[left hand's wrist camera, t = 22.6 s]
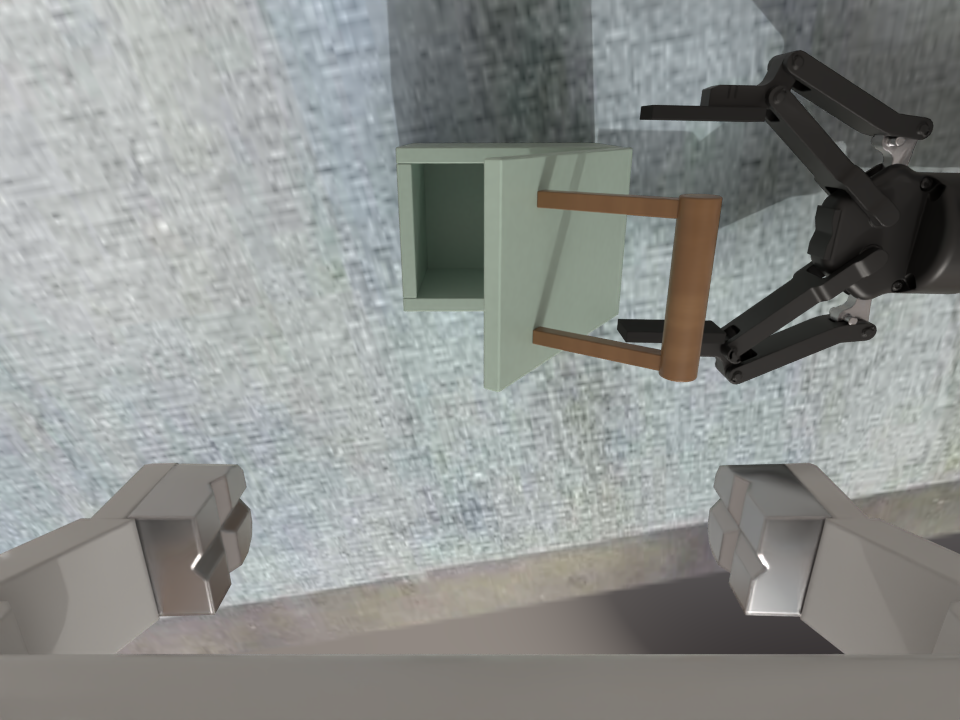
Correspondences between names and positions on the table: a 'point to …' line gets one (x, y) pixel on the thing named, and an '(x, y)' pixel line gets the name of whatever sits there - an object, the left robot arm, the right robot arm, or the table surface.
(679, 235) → the lid
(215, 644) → the table surface
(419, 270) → the chest
